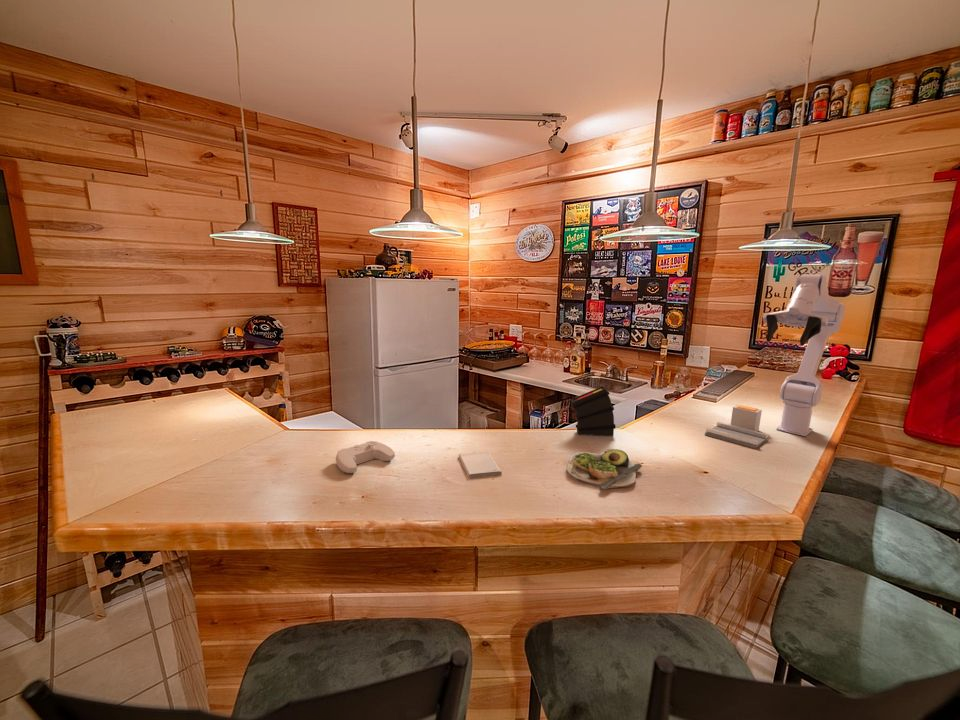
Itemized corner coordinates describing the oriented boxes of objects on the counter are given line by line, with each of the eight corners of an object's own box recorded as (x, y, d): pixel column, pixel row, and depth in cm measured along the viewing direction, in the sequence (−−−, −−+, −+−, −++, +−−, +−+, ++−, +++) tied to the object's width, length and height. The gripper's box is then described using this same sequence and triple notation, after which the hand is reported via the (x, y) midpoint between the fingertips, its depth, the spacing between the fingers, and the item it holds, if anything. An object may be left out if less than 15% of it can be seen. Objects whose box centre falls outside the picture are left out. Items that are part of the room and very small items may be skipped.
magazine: (625, 431, 129) (607, 388, 127) (584, 448, 131) (566, 405, 128) (621, 427, 133) (604, 385, 130) (582, 443, 134) (564, 401, 132)
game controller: (347, 467, 99) (328, 446, 106) (346, 483, 101) (327, 461, 107) (399, 450, 109) (379, 432, 116) (397, 465, 111) (377, 446, 117)
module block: (735, 424, 143) (738, 403, 141) (758, 430, 138) (762, 408, 136) (730, 427, 140) (733, 406, 138) (754, 433, 135) (757, 411, 133)
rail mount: (718, 427, 140) (719, 421, 139) (767, 439, 129) (768, 433, 129) (704, 434, 133) (705, 428, 132) (755, 448, 122) (756, 442, 122)
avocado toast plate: (640, 502, 92) (642, 483, 92) (558, 486, 99) (559, 468, 98) (641, 466, 110) (643, 450, 109) (572, 455, 117) (573, 439, 116)
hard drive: (501, 471, 103) (488, 450, 115) (469, 474, 101) (458, 453, 113) (501, 477, 103) (488, 456, 115) (469, 480, 101) (458, 459, 113)
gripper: (768, 294, 122) (752, 327, 117) (832, 296, 111) (817, 333, 106) (771, 312, 126) (755, 345, 121) (833, 316, 115) (818, 352, 110)
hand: (784, 341), depth 114 cm, fingers open, 7 cm apart
